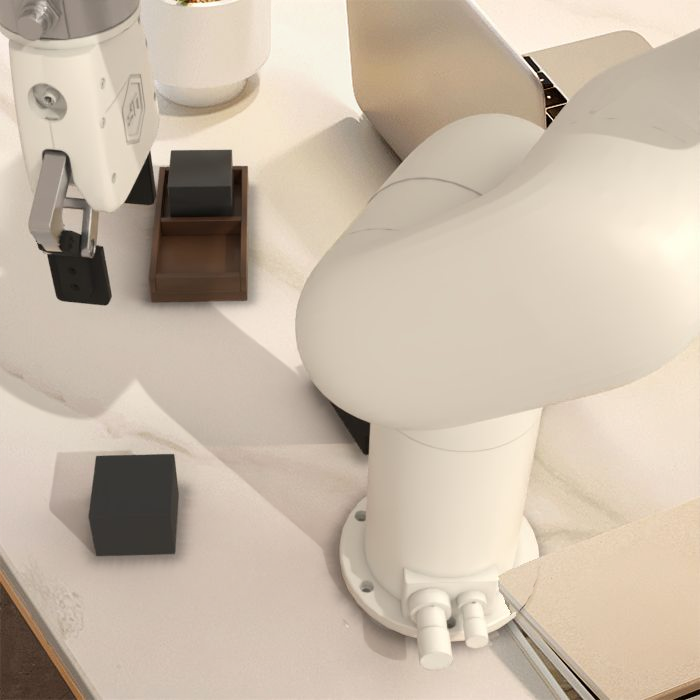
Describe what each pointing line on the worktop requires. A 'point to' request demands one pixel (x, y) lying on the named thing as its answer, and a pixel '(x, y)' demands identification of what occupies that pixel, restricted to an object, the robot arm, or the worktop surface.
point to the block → (134, 505)
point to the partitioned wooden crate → (200, 229)
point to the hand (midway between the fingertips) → (109, 248)
